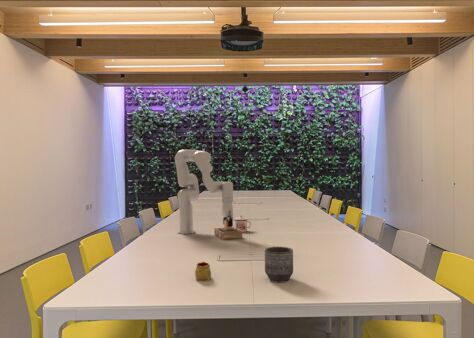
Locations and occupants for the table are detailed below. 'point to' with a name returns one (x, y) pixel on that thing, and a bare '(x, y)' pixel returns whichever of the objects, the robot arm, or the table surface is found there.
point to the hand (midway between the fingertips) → (228, 225)
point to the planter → (279, 263)
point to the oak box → (228, 233)
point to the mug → (202, 271)
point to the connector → (226, 225)
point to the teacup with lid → (241, 223)
